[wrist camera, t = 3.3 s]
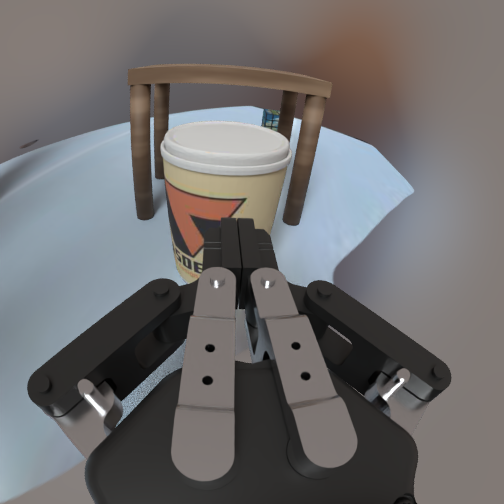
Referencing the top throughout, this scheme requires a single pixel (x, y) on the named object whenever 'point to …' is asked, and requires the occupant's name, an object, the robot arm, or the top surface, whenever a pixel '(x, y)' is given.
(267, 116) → the puzzle
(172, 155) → the coffee cup
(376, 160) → the top surface
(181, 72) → the cover stand
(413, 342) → the robot arm
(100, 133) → the top surface
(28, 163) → the top surface
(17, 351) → the top surface
